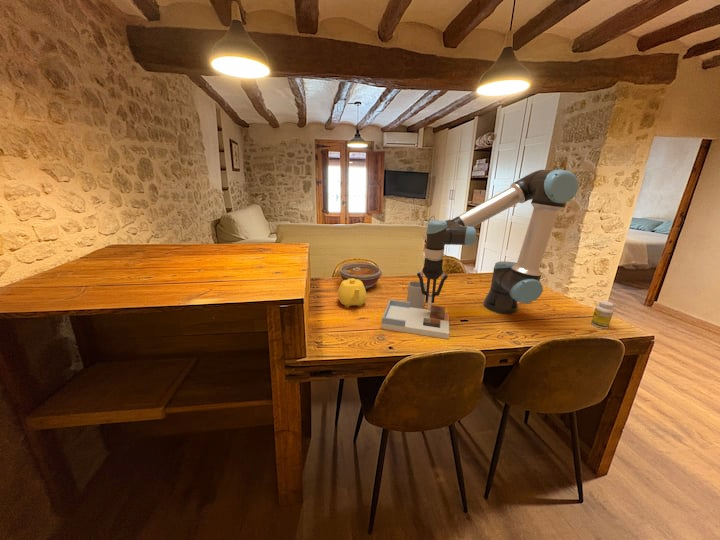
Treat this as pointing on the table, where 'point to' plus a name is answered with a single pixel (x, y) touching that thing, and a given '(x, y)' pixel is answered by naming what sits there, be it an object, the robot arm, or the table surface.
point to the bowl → (361, 273)
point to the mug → (415, 295)
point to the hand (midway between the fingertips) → (429, 308)
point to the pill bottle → (602, 314)
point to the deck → (414, 320)
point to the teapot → (352, 293)
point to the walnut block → (437, 312)
